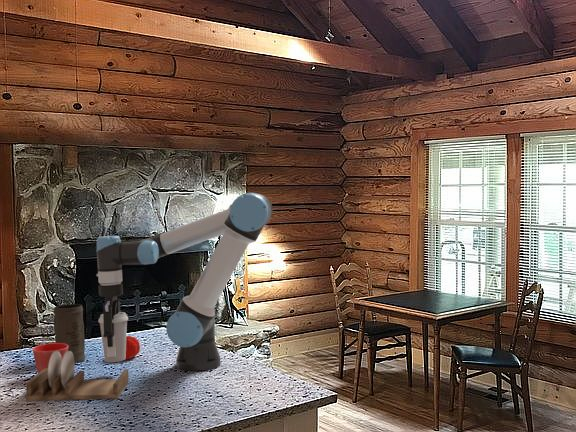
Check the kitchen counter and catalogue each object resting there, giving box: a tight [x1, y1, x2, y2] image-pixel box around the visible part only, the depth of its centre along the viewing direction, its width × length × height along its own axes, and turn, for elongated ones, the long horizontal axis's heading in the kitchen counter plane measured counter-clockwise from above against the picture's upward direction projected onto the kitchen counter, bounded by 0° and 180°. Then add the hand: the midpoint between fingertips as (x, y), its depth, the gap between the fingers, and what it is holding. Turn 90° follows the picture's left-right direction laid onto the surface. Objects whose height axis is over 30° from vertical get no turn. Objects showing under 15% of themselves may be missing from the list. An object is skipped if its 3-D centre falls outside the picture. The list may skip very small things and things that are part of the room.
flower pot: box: [32, 342, 69, 374], centre depth 205 cm, size 11×11×10 cm
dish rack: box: [25, 351, 130, 402], centre depth 189 cm, size 26×15×12 cm, turn 92°
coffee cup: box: [97, 311, 129, 363], centre depth 205 cm, size 10×10×15 cm
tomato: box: [125, 335, 141, 360], centre depth 227 cm, size 9×9×8 cm
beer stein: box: [53, 303, 86, 364], centre depth 226 cm, size 15×11×20 cm
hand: (114, 353), depth 205 cm, fingers closed on coffee cup, 7 cm apart
